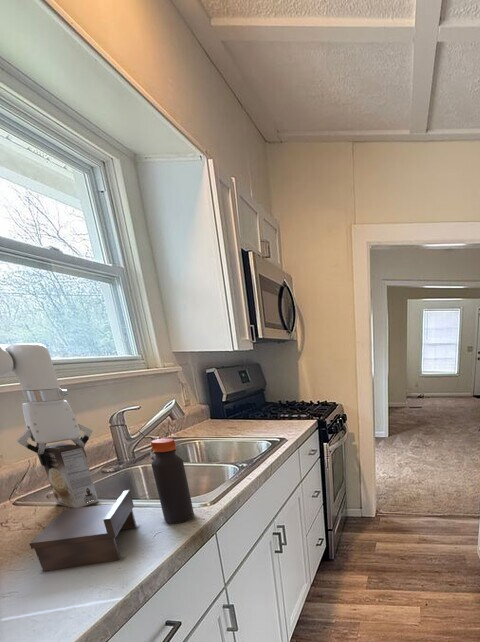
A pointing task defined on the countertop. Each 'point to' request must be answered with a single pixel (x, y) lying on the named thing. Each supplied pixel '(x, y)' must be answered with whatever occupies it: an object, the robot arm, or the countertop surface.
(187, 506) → the bottle
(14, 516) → the countertop surface
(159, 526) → the countertop surface
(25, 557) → the countertop surface
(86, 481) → the coffee box
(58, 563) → the shelf
